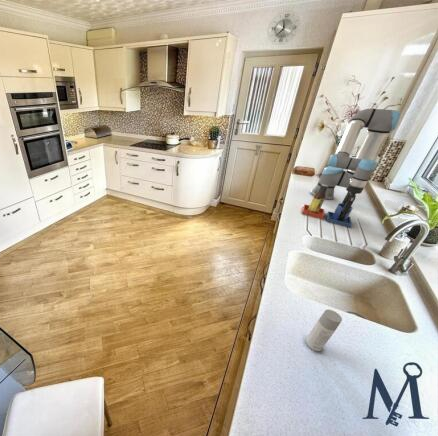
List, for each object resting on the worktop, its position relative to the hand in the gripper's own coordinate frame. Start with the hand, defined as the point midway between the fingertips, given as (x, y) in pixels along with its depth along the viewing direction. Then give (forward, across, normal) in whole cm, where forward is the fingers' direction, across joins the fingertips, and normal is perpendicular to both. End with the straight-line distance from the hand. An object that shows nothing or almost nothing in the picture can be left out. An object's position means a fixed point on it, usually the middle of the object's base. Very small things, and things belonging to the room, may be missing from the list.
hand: (339, 218), depth 152 cm
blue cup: (0, 0, 0) cm, 0 cm away
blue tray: (+2, 0, 0) cm, 2 cm away
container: (+2, +110, -10) cm, 111 cm away
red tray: (+2, -2, -14) cm, 15 cm away
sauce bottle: (+2, -2, -15) cm, 15 cm away
